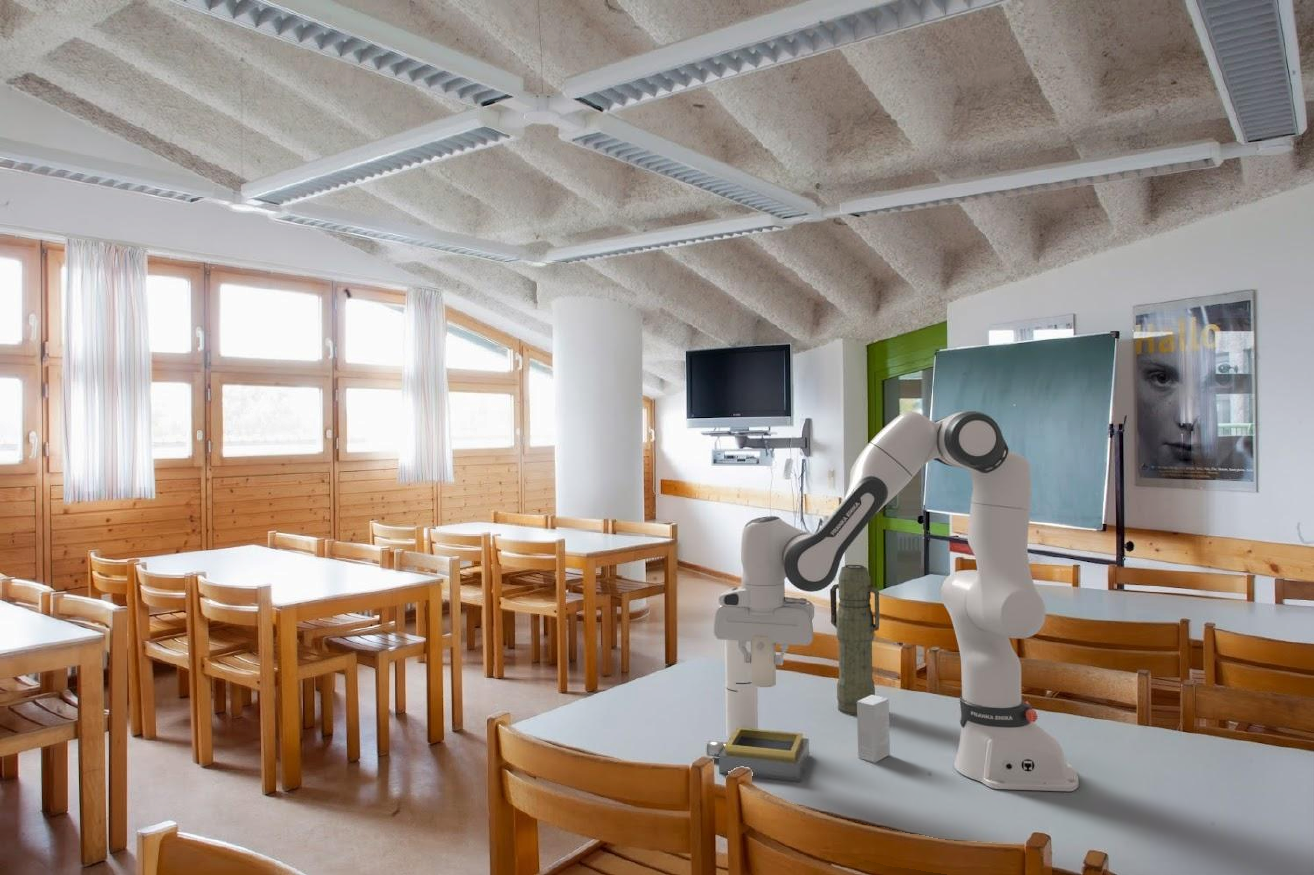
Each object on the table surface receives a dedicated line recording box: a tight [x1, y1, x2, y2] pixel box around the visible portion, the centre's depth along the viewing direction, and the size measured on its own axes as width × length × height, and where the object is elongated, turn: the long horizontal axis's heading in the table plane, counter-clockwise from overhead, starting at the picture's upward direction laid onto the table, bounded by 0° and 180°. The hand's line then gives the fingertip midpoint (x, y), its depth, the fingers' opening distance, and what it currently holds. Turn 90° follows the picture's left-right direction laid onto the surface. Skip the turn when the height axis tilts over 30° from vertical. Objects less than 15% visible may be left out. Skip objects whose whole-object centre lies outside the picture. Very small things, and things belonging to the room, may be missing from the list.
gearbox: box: [705, 727, 810, 783], centre depth 174 cm, size 20×14×5 cm
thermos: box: [829, 564, 880, 716], centre depth 206 cm, size 9×12×35 cm
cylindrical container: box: [724, 640, 759, 739], centre depth 190 cm, size 7×7×25 cm
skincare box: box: [856, 694, 891, 763], centre depth 177 cm, size 6×4×12 cm
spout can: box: [751, 636, 777, 688], centre depth 173 cm, size 5×7×10 cm
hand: (763, 663), depth 174 cm, fingers closed on spout can, 5 cm apart
